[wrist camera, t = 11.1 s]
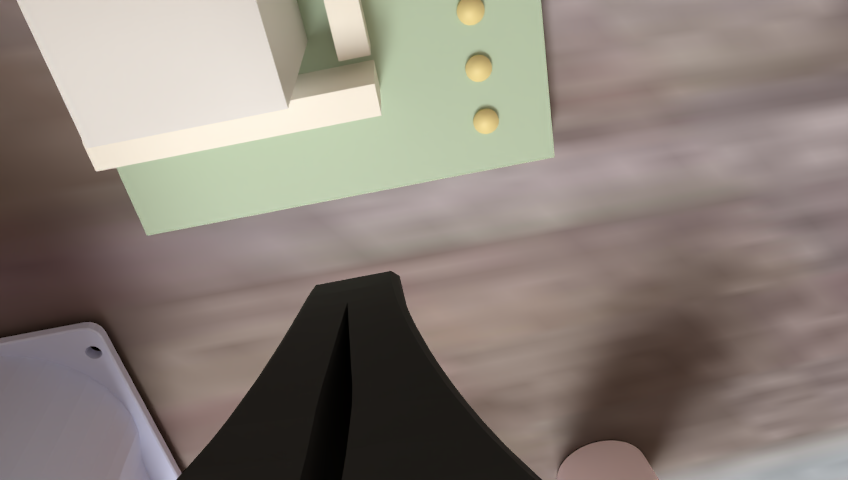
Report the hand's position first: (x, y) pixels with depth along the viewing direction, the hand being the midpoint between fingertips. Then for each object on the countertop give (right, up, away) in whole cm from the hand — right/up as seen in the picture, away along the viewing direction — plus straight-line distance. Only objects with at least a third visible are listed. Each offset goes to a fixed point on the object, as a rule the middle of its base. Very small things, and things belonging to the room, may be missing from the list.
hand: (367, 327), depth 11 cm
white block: (-4, +8, +5) cm, 11 cm away
